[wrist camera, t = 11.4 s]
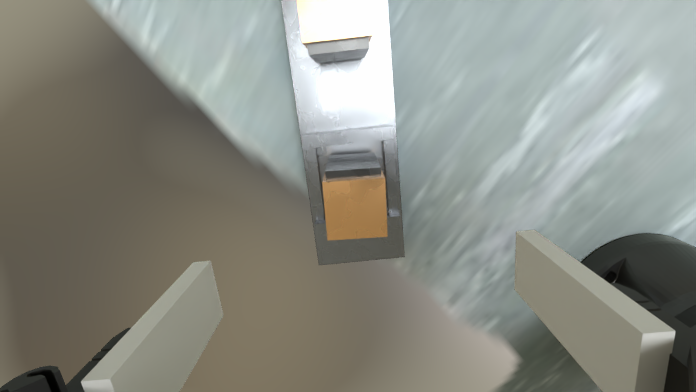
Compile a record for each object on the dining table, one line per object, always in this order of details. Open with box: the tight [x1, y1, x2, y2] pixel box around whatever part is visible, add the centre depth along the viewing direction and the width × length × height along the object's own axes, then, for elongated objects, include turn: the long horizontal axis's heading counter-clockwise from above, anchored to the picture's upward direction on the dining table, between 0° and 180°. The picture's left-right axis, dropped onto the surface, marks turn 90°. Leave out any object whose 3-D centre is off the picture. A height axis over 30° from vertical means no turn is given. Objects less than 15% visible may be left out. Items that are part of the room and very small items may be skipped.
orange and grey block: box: [322, 152, 388, 241], centre depth 26 cm, size 5×4×8 cm
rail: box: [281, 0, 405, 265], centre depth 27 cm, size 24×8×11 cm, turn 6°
